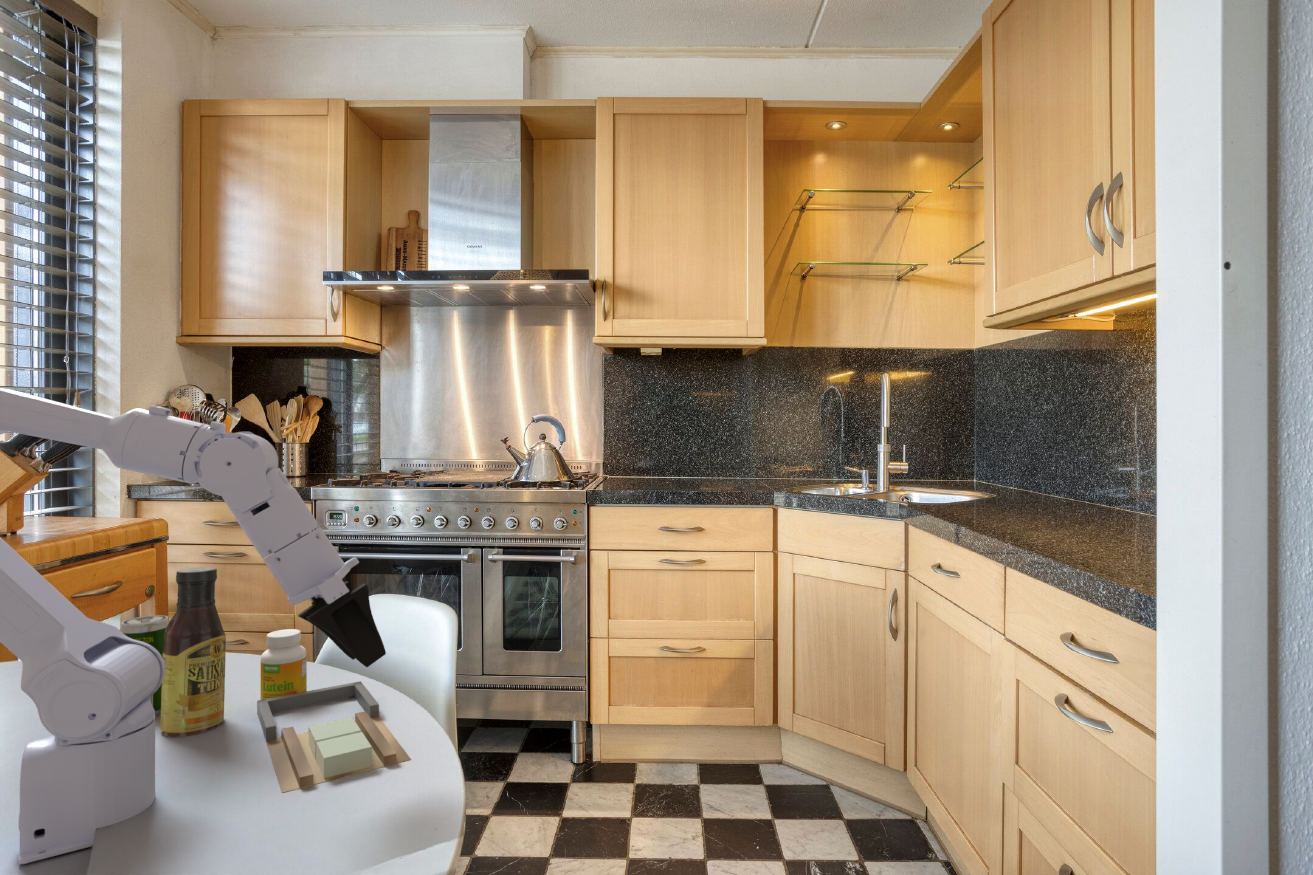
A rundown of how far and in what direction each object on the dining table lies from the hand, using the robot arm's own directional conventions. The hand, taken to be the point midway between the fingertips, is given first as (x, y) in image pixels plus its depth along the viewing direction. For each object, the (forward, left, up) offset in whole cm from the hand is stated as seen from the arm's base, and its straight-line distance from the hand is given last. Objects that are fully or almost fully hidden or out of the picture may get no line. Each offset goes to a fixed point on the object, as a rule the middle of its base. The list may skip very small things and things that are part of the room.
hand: (368, 656), depth 70 cm
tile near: (-2, +4, -12) cm, 13 cm away
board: (-2, +8, -13) cm, 16 cm away
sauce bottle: (-14, +25, -14) cm, 32 cm away
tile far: (-2, +9, -12) cm, 15 cm away
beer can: (-19, +38, -14) cm, 45 cm away
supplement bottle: (-4, +30, -14) cm, 33 cm away
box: (-2, +20, -13) cm, 24 cm away
